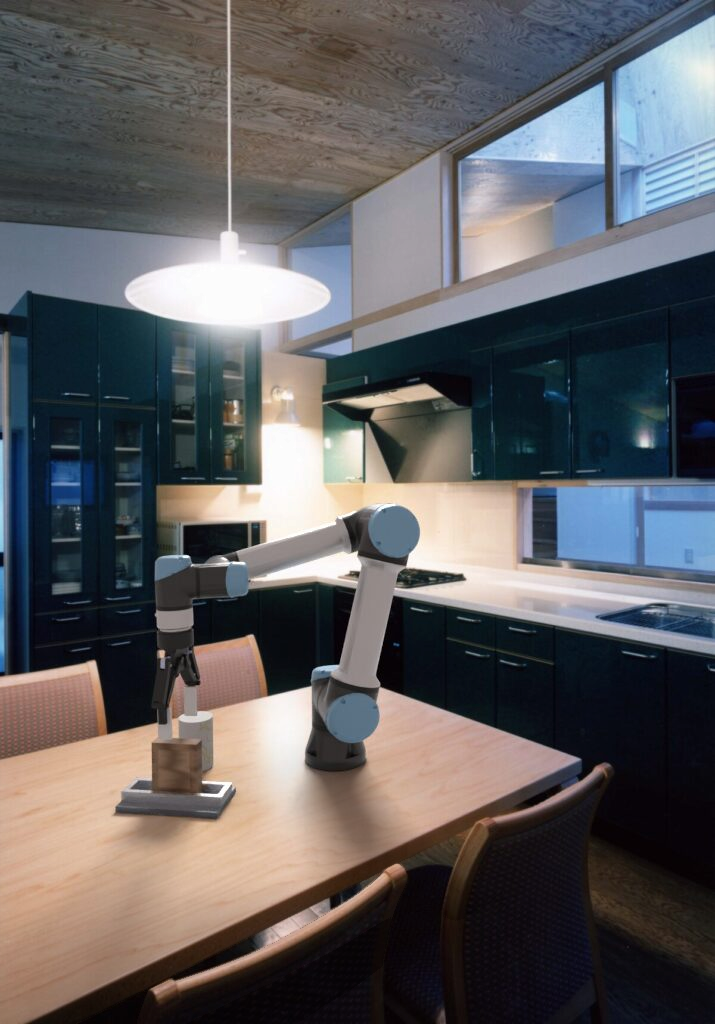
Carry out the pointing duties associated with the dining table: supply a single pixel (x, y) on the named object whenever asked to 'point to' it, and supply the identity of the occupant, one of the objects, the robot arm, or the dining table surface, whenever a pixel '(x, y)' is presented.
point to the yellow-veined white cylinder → (199, 734)
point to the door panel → (177, 765)
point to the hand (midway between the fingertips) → (178, 726)
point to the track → (175, 800)
